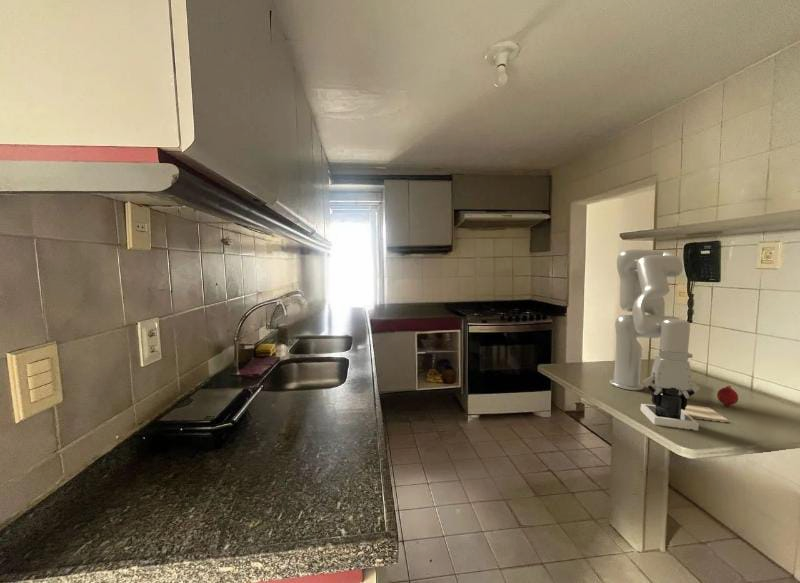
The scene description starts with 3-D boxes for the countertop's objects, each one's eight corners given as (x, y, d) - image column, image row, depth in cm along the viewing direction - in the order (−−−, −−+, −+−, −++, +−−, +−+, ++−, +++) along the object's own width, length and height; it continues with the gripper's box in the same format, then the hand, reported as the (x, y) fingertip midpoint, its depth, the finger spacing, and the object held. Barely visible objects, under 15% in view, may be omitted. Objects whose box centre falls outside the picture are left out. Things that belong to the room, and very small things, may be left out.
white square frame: (640, 410, 123) (641, 403, 123) (679, 415, 120) (680, 408, 120) (654, 424, 112) (654, 417, 112) (698, 430, 108) (698, 423, 108)
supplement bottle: (685, 425, 112) (688, 390, 111) (661, 423, 113) (664, 388, 112) (672, 416, 119) (675, 383, 118) (651, 414, 120) (653, 381, 119)
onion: (732, 410, 126) (734, 389, 125) (713, 404, 131) (714, 384, 130) (740, 407, 128) (742, 387, 127) (721, 402, 133) (723, 382, 133)
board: (670, 405, 129) (670, 402, 128) (709, 410, 125) (709, 407, 125) (685, 417, 118) (685, 414, 118) (727, 422, 115) (728, 420, 114)
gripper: (698, 355, 115) (693, 406, 117) (639, 350, 120) (635, 399, 122) (710, 361, 108) (705, 415, 109) (647, 355, 113) (643, 407, 115)
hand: (668, 406), depth 116 cm, fingers closed on supplement bottle, 6 cm apart
